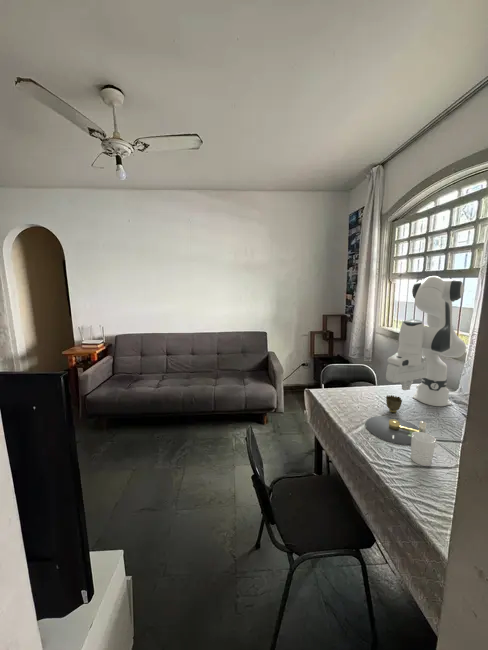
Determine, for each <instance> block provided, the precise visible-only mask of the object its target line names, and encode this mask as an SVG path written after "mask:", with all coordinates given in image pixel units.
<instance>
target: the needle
mask: <svg viewBox="0 0 488 650" xmlns="http://www.w3.org/2000/svg"><path fill="white" fill-rule="evenodd" d="M389 428H390V429H393V430H399V429H403V430H406V431H410V432H424V433H426V428H427V422H425V421H423V420H420V421H419V425H418V428H419V430H415V429H411V428H407V427H404V426H400V422H399V421H397V420H394V419H390V420H389Z"/></svg>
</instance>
